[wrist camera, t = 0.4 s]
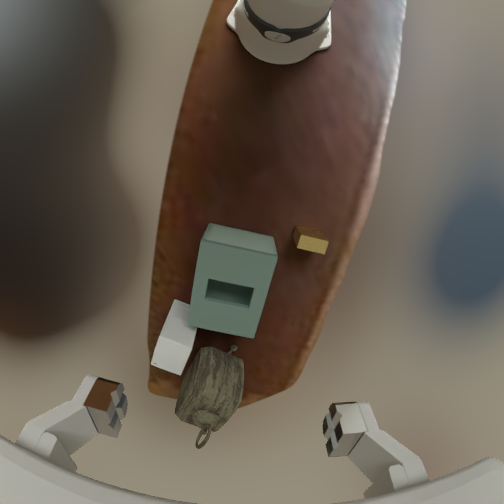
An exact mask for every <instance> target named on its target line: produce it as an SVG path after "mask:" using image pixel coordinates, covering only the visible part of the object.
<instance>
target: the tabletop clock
mask: <svg viewBox="0 0 504 504" xmlns="http://www.w3.org/2000/svg"><path fill="white" fill-rule="evenodd" d="M230 349H231V350H230V351H229V352H228V353H226V352H223V351H221V350H219V349H216V348H214V347H211V346H210V347H201V348H200V349H199V351H198V353H197V354H196V356H195V357H194V359H193V361H192V362H191V364H190V366H189V368H188V369H187V371H186V373H185V375H184V377H183V380H182V384H181V387H180V391H179V395H178V399H177V404H176V408H175V414H176V415H177V416H178V417H179V418H180V420H181V421H184V422H187V423H189V424H193V425H195V426H198V427H199V428H202V429H201V431H200V433H199V435H198V437H197V440H196V448H198V449H200V448H201V447H203V446H204V445H205V444H206V442H207V440H208V439H209V437H210V434H211V431H213V432H215V431H217V430H219V429H220V428H221V427H222V426H223V425H224V424H225V423H226V422H227V421H228V420H229V418H230V417H231V416H232V415H233V413H234V412H235V411H236V410H237V408H238V406H239V405H240V403H241V399H242V394H243V385H244V363H243V360H242V359H241V358H238V357H236V356H233V355H231V353H232V351H236V350H237V345H235V344H233V345H231V346H230ZM207 430H209V431H208V433H207ZM206 433H207V435H206V437H205V439H204V440H203V441H202V443H201V444H200V445H198V441H199V439H200V437H201V436H202V434H206Z"/></svg>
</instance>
